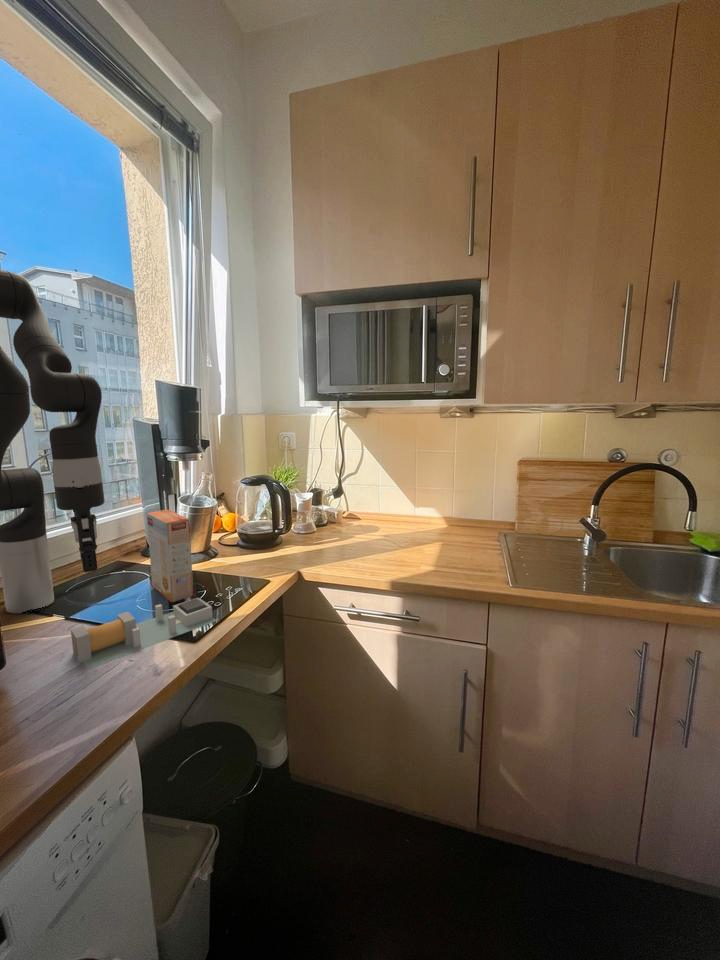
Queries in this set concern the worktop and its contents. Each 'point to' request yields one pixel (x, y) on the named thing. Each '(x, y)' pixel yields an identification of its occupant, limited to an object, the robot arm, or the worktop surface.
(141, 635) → the board
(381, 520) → the worktop surface
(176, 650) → the worktop surface
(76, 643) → the tan and white bar
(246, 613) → the worktop surface
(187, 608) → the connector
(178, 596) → the cracker box
